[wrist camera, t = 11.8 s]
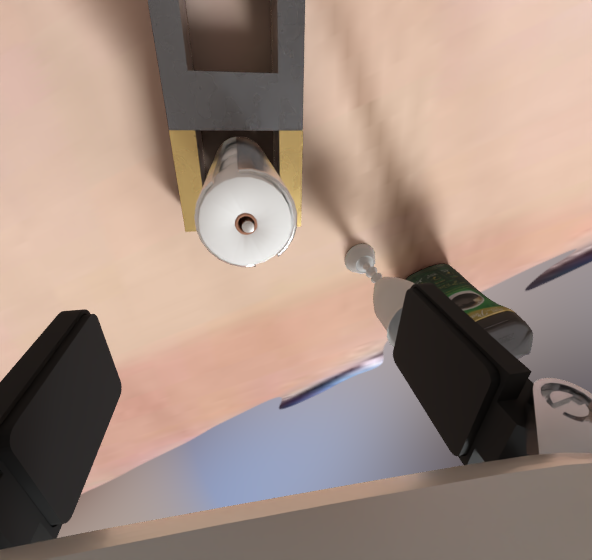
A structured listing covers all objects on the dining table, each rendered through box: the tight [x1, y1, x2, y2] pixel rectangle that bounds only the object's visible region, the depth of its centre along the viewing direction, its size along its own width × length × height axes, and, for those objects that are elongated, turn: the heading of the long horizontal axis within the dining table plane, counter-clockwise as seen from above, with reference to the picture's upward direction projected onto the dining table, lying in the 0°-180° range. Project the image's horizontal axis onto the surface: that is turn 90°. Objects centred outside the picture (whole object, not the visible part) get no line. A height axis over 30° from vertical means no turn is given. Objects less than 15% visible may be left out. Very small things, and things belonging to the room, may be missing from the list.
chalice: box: [345, 244, 414, 347], centre depth 43 cm, size 7×7×18 cm
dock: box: [148, 0, 305, 232], centre depth 35 cm, size 27×14×6 cm, turn 179°
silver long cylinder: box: [194, 136, 297, 267], centre depth 30 cm, size 6×6×25 cm
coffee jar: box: [406, 264, 533, 359], centre depth 47 cm, size 10×8×19 cm
